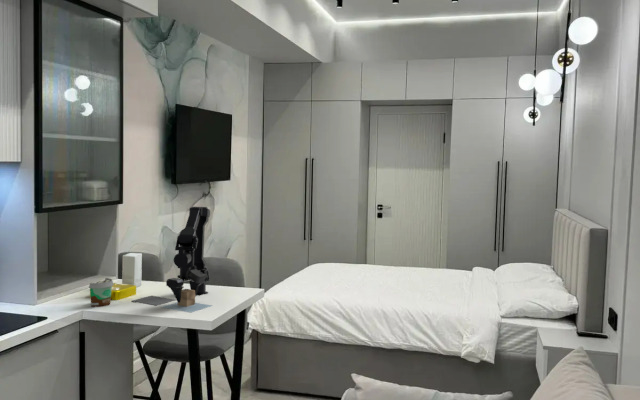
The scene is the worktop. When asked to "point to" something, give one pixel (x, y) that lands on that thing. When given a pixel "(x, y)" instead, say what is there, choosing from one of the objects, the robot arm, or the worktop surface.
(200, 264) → the robot arm
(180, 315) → the worktop surface
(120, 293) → the element tile
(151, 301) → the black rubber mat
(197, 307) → the card
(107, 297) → the food container
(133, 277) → the skincare box
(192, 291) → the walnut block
